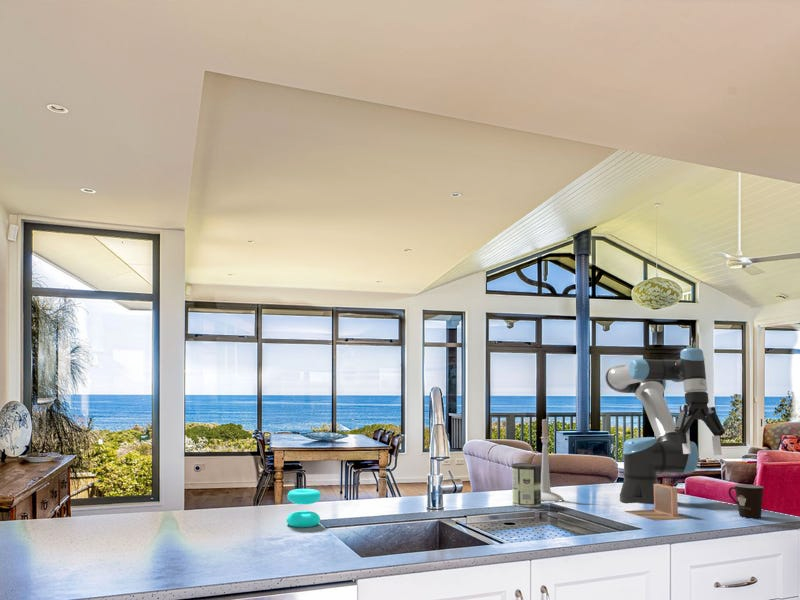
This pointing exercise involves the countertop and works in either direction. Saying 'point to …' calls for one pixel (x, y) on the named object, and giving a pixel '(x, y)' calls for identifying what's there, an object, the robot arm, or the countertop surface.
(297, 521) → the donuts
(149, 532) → the countertop surface
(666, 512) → the tile
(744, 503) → the coffee mug
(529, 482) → the coffee can
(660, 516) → the board
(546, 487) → the candlestick
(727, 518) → the countertop surface
